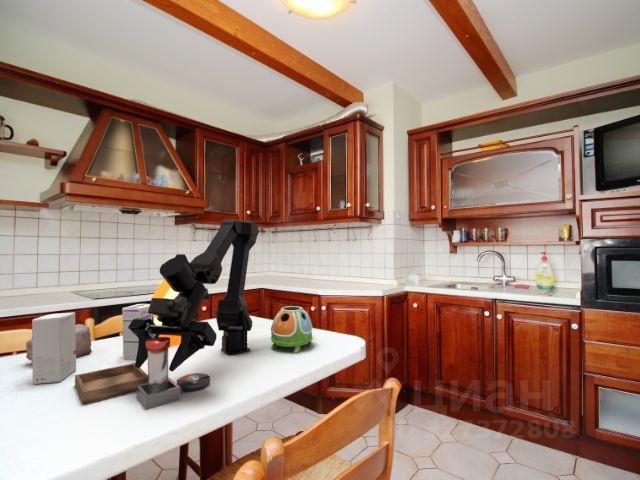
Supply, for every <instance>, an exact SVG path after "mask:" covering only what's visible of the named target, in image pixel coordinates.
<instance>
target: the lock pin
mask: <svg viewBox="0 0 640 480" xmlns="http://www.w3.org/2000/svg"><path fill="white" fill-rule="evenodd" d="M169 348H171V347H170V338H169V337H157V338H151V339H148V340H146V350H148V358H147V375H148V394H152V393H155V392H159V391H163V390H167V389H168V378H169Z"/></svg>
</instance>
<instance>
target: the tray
mask: <svg viewBox="0 0 640 480" xmlns="http://www.w3.org/2000/svg"><path fill="white" fill-rule="evenodd" d="M147 383H148V373H146V372H145V370H143V369H142V368H141V367H140V368H136V367H135V362H133V363H128V364H123V365H118V366H112V367H108V368H103V369H97V370H93V371H89V372H84V373H79V374H75V375H74V387H75V390H76V392H77V393H76V394H77V395H78V398H79V400H80V402H81V405H82V406H85V405H90V404H92V403H97V402H100V401H105V400H108V399H112V398H116V397H120V396H124V395H128V394H133V393H136V386H138V385H142V384H147Z"/></svg>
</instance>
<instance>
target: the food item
mask: <svg viewBox="0 0 640 480" xmlns="http://www.w3.org/2000/svg"><path fill="white" fill-rule="evenodd" d="M75 333H76V358H79V357H82V356H85V355H88V354H91V353H92V351H93V350H92V339H91V330H90V327H89V326H87V325H85V324H75ZM25 344H26V345H25V348H26V349H25V350H26V355H25V356H26V359H27V360H28V361H31V362H32V363H33V357H32V338H30V339H29V340H27V341H26V342H25ZM78 356H79V357H78Z"/></svg>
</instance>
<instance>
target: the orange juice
mask: <svg viewBox="0 0 640 480" xmlns="http://www.w3.org/2000/svg"><path fill="white" fill-rule="evenodd" d="M178 293H179V292H175V291H173V290H172V288H171V287H170V286H169V284H168V283H167V282H166V280H165V279H163V280H162V281H161V283H160V284H159V286H158V288H157V289H156V291H155V292H154V294H153V295H152V297H151V299H152V298H168V299H175V297H176V296H177V295H178ZM157 317H158V316H157V315H154V323H155V324H156V325H162V322H159V321H158V320H157ZM159 337H169V338H170V347H169V348H171V347H175V346H179V345H180V343H181V336H172V335H159Z"/></svg>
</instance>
